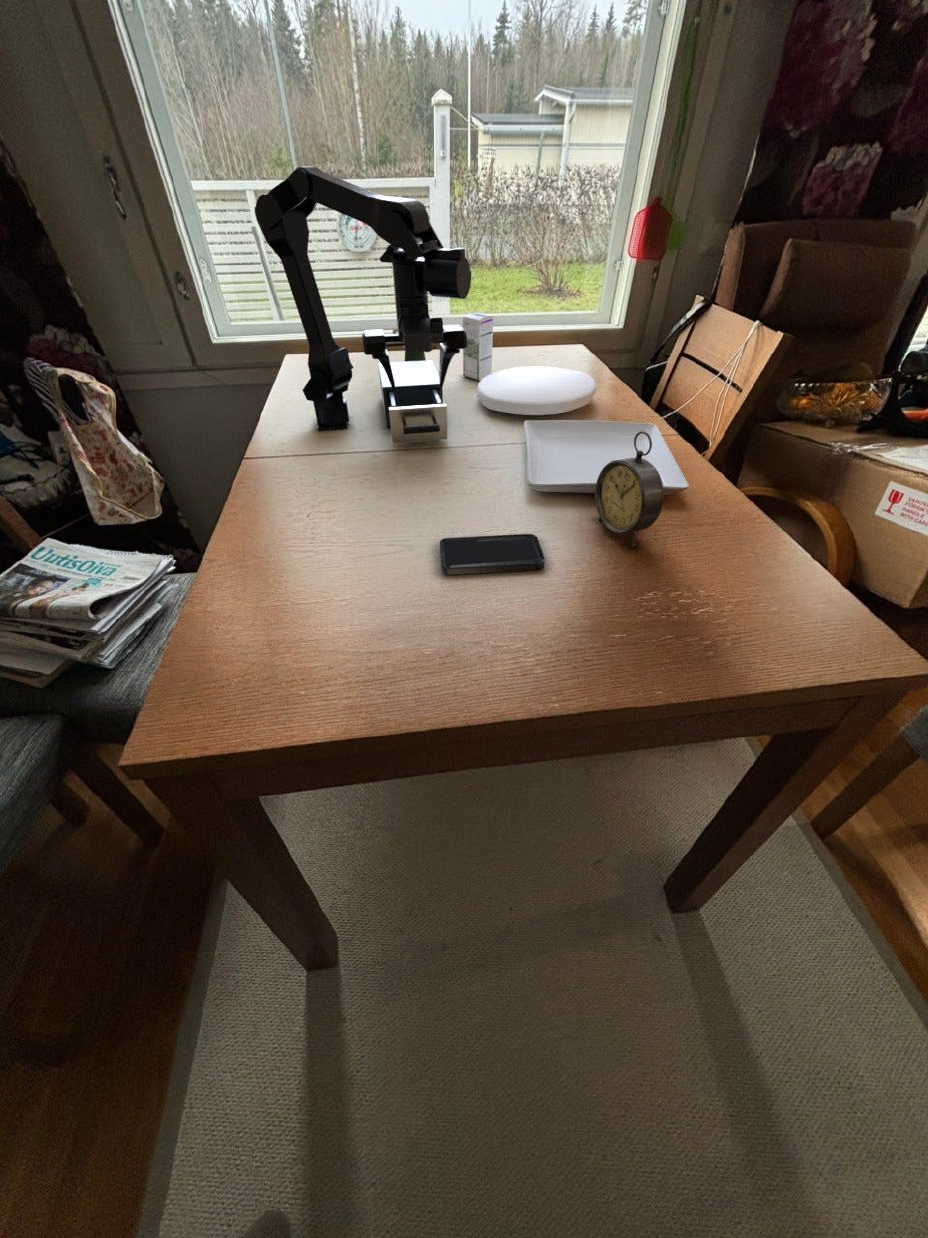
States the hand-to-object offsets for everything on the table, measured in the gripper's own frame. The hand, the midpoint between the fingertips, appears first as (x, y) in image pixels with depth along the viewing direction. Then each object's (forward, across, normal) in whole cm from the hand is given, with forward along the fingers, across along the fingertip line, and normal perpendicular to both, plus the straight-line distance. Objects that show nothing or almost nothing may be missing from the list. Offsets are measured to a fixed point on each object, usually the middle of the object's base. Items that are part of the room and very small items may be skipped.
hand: (417, 388), depth 98 cm
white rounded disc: (+11, +30, +17) cm, 36 cm away
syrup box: (+11, +20, +38) cm, 45 cm away
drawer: (+10, 0, +4) cm, 11 cm away
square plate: (+11, +31, -18) cm, 38 cm away
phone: (+11, +5, -42) cm, 44 cm away
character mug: (+11, +4, +45) cm, 46 cm away
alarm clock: (+12, +27, -40) cm, 49 cm away
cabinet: (+11, 0, +17) cm, 20 cm away
